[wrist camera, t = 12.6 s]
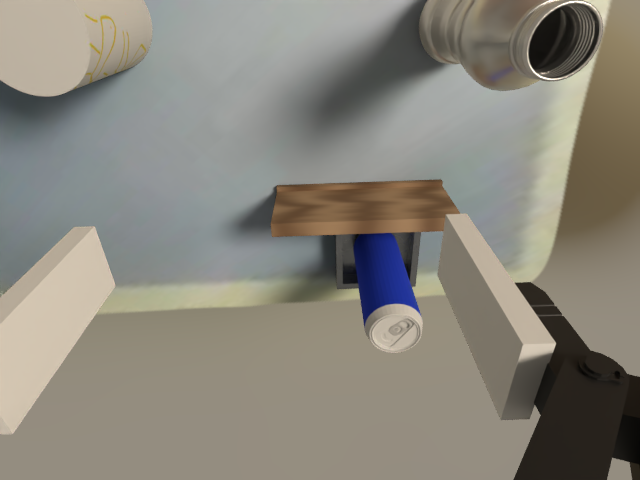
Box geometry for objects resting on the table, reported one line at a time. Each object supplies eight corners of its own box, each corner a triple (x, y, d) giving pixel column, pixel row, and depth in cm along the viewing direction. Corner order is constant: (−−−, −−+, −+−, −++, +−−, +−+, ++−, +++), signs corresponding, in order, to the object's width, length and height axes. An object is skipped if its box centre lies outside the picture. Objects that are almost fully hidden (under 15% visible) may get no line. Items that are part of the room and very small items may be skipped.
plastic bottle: (501, 21, 37) (659, 42, 20) (439, 75, 40) (533, 136, 22) (461, -42, 35) (602, -78, 18) (398, 20, 37) (468, 41, 20)
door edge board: (279, 205, 47) (272, 241, 40) (277, 185, 45) (270, 219, 38) (438, 199, 46) (460, 234, 39) (441, 179, 45) (463, 212, 38)
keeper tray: (336, 276, 52) (336, 289, 49) (334, 209, 47) (335, 219, 45) (411, 274, 52) (415, 286, 49) (417, 206, 47) (422, 216, 45)
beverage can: (374, 270, 51) (393, 363, 38) (343, 246, 49) (353, 335, 36) (405, 243, 49) (437, 332, 36) (375, 217, 47) (397, 301, 34)
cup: (113, 88, 40) (43, 120, 30) (39, 12, 37) (-69, 18, 26) (171, 31, 38) (116, 44, 27) (97, -56, 34) (2, -79, 24)
